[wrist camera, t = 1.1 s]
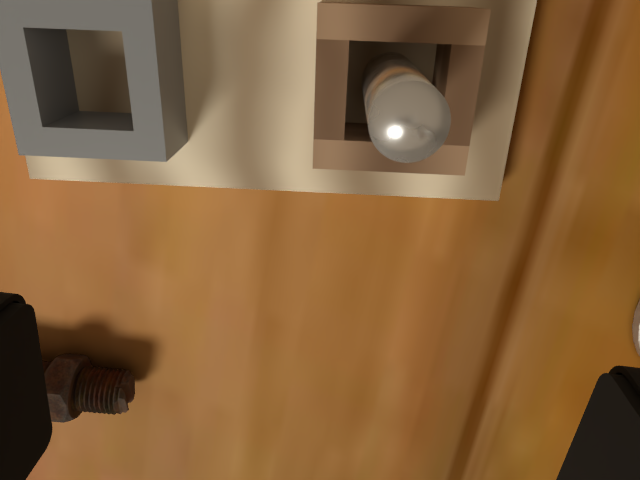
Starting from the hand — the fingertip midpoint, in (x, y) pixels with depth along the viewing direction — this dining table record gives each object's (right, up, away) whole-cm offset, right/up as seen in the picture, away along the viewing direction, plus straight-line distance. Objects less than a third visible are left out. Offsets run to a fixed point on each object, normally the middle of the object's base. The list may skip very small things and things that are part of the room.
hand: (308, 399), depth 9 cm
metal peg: (+4, +11, +19) cm, 23 cm away
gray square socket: (-11, +12, +20) cm, 26 cm away
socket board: (-3, +12, +21) cm, 24 cm away
